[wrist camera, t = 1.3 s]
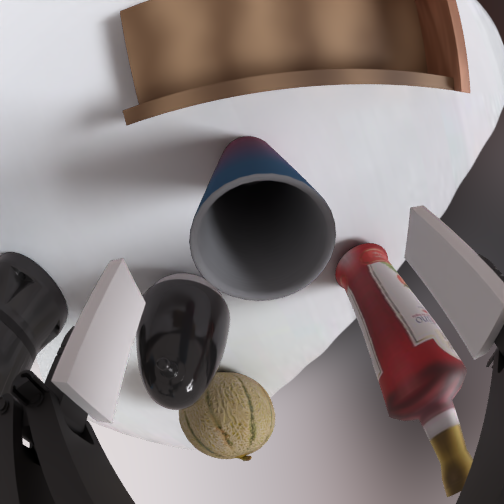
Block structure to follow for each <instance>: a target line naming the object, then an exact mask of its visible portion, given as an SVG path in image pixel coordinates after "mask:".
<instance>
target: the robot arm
mask: <svg viewBox="0 0 504 504" xmlns="http://www.w3.org/2000/svg"><path fill="white" fill-rule="evenodd" d="M404 258H405V259H406V260H407V261H408V263H409V264H410V265H411V267H412V268H413V269H414V270H415V272H416V273H417V274H418V276H419V277H420V278H421V280H422V281H423V282H424V284H425V285H426V286H427V288H428V289H429V291H430V292H431V293H432V295H433V296H434V298H435V299H436V300H437V302H438V303H439V305H440V306H441V308H442V309H443V311H444V312H445V314H446V315H447V317H448V318H449V319H450V321H451V323H452V324H453V326H454V327H455V329H456V330H457V332H458V334H459V335H460V337H461V338H462V340H463V341H464V343H465V345H466V347H467V348H468V350H469V352H470V353H471V355H472V357H473V359H474V360H475V359H476V358H479V357H480V356H482V355H484V354H486V353H488V351H489V350H490V348H491V346H492V345H493V343H495V344H496V346H497V349H496V351H495V352H494V353H493V355H492V357H491V358H490V359H489V361H488V363H487V366H486V367H489V365H490V364H491V363H492V361H493V360H494V364H493V366H492V368H493V372H492V380H491V387H490V393H489V399H488V404H487V409H486V414H485V419H484V423H483V427H482V431H481V435H480V439H479V442H478V446H477V449H476V452H475V456H474V459H473V462H472V465H471V468H470V470H469V473H468V476H467V479H466V481H465V484H464V486H463V489H462V491H461V493H460V496H459V498H458V500H457V503H456V504H504V276H503V275H502V273H501V272H500V271H499V270H497V268H496V267H495V266H494V265H493V264H492V263H491V262H490V261H489V260H488V259H486V258H485V257H483V256H482V255H480V254H478V255H477V254H476V253H475V252H474V251H473V250H472V249H471V248H470V247H469V246H468V245H467V244H466V243H465V242H464V241H463V240H462V239H461V238H460V237H459V236H458V235H457V234H456V233H454V232H453V231H452V230H451V229H450V228H449V227H448V226H447V225H446V224H444V223H443V222H442V221H441V220H440V219H439V218H438V217H436V216H435V215H434V214H433V213H432V212H430V211H429V210H428V209H427V208H426V207H424V206H417V207H410V217H409V227H408V235H407V243H406V250H405V257H404ZM145 304H146V303H145V301H144V299H143V297H142V295H141V293H140V291H139V289H138V287H137V285H136V283H135V281H134V279H133V277H132V275H131V273H130V271H129V269H128V267H127V265H126V263H125V260H124V258H121V259H116V260H112V261H110V262H109V263H108V265H107V267H106V268H105V270H104V272H103V274H102V275H101V277H100V279H99V281H98V283H97V284H96V286H95V288H94V290H93V292H92V294H91V295H90V297H89V299H88V301H87V303H86V305H85V307H84V309H83V311H82V313H81V315H80V317H79V319H78V321H77V323H76V325H75V326H73V327H72V328H71V329H70V331H69V332H68V333H67V334H66V335H65V337H64V340H63V342H62V344H61V348H59V350H58V353H57V356H56V357H55V359H54V362H53V364H52V366H51V369H50V371H49V374H48V376H47V378H46V381H45V383H43V382H42V381H41V380H40V379H39V378H38V377H37V376H36V375H35V374H34V373H33V372H32V371H30V369H31V367H32V364H33V362H34V360H35V358H36V356H37V354H38V353H39V352H40V351H41V350H42V349H43V348H44V347H45V346H46V345H47V344H48V343H49V342H51V341H52V340H53V339H54V338H55V337H56V336H57V335H58V334H59V333H60V332H61V330H62V328H63V326H64V324H65V322H66V320H67V315H68V311H67V306H66V302H65V299H64V297H63V295H62V293H61V291H60V289H59V288H58V286H57V285H56V283H55V282H54V281H53V279H52V278H51V277H50V276H49V275H48V274H47V273H46V272H45V271H44V270H43V269H42V268H41V267H40V266H39V265H38V264H36V263H35V262H34V261H32V260H31V259H29V258H27V257H25V256H23V255H21V254H18V253H11V252H10V253H5V254H3V255H1V256H0V504H135V503H134V501H133V500H132V498H131V497H130V495H129V494H128V492H127V491H126V489H125V487H124V486H123V484H122V483H121V481H120V479H119V478H118V476H117V474H116V473H115V471H114V469H113V467H112V466H111V464H110V462H109V460H108V459H107V457H106V455H105V453H104V451H103V449H102V447H101V445H100V443H99V441H98V439H97V437H96V435H95V433H94V431H93V429H92V427H91V425H90V423H89V422H88V421H87V416H88V415H90V416H91V417H92V418H93V419H95V420H96V421H99V422H106V423H113V420H114V415H115V411H116V407H117V402H118V398H119V394H120V390H121V386H122V382H123V378H124V374H125V370H126V367H127V363H128V359H129V356H130V352H131V349H132V345H133V342H134V339H135V335H136V332H137V329H138V326H139V322H140V319H141V316H142V313H143V310H144V307H145ZM22 438H24V439H25V440H27V441H28V442H30V447H29V448H28V447H26V446H24V445H23V442H22Z"/></svg>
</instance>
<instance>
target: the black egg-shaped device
mask: <svg viewBox="0 0 504 504" xmlns="http://www.w3.org/2000/svg"><path fill="white" fill-rule="evenodd" d="M143 299H144V301H145V303H146V304H145V307H144V310H143V313H142V316H141V319H140V322H139V326H138V329H137V332H136V346H137V359H138V366H139V371H140V375H141V378H142V381H143V384H144V386H145V388H146V390H147V392H148V394H149V395H150V397H151V398H152V399H153V400H154V401H155V402H156V403H157V404H159V405H161V406H163V407H165V408H168V409H172V410H182V409H186V408H189V407H191V406H193V405H195V404H196V403H197V402H198V401H199V400H200V399H201V398H202V397H203V396H204V394H205V393H206V392H207V390H208V389H209V387H210V385H211V383H212V382H213V380H214V378H215V375H216V373H217V370H218V368H219V365H220V362H221V359H222V357H223V353H224V350H225V346H226V342H227V337H228V332H229V325H230V313H229V309H228V306H227V304H226V302H225V301H224V299H223V297H222V296H221V294H220V292H219V291H218V290H217V288H215V287H214V286H212V285H211V284H210V283H209V282H208V281H207V280H206V279H204V278H202V277H199V276H197V275H193V274H187V273H179V274H173V275H169V276H167V277H164V278H162V279H161V280H159V281H158V282H157V283H155V284H154V285H153V286H152V287H150V288H149V289H148V290H147V291H146V292H145V294H144V295H143Z"/></svg>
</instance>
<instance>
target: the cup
mask: <svg viewBox="0 0 504 504" xmlns="http://www.w3.org/2000/svg"><path fill="white" fill-rule="evenodd" d="M335 238H336V230H335V222H334V218H333V215H332V212H331V210H330V208H329V206H328V205H327V203H326V201H325V200H324V199H323V198H322V196H321V195H320V194H319V193H318V192H317V191H316V190H315V189H314V188H313V187H312V186H311V185H310V184H309V183H308V182H307V181H306V180H305V179H304V178H303V177H302V176H301V175H300V174H299V173H298V172H297V171H296V170H295V169H294V168H293V167H292V166H290V165H289V164H288V163H287V162H286V161H285V160H284V159H283V158H282V157H281V156H280V155H279V154H278V153H277V152H276V151H275V150H274V149H272V148H271V147H270V146H269V145H268V144H267V143H266V142H265V141H263V140H261V139H259V138H256V137H251V136H246V137H241V138H238V139H236V140H234V141H232V142H231V143H230V144H229V145H228V146H227V147H226V149H225V150H224V152H223V154H222V156H221V158H220V160H219V162H218V165H217V167H216V169H215V171H214V173H213V175H212V178H211V180H210V182H209V184H208V187H207V189H206V191H205V193H204V196H203V198H202V200H201V202H200V205H199V207H198V209H197V212H196V214H195V216H194V219H193V223H192V226H191V229H190V241H189V243H190V250H191V255H192V258H193V260H194V263H195V265H196V267H197V269H198V270H199V272H200V273H201V274H202V276H203V277H204V278H205V279H206V280H207V281H208V282H209V283H210V284H211V285H212V286H214V287H215V288H217V289H218V290H220V291H221V292H223V293H226V294H228V295H230V296H233V297H236V298H240V299H244V300H254V301H264V300H273V299H278V298H282V297H285V296H288V295H291V294H293V293H295V292H297V291H299V290H301V289H302V288H304V287H306V286H307V285H308V284H310V283H311V282H312V281H313V280H315V279H316V278H317V277H318V275H319V274H320V273H321V272H322V271H323V270H324V268H325V266H326V265H327V263H328V262H329V260H330V258H331V255H332V252H333V249H334V245H335Z"/></svg>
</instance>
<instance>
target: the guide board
mask: <svg viewBox="0 0 504 504" xmlns="http://www.w3.org/2000/svg"><path fill="white" fill-rule="evenodd" d="M120 15H121V21H122V27H123V33H124V38H125V43H126V48H127V53H128V58H129V63H130V68H131V72H132V77H133V81H134V86H135V90H136V94H137V98H138V102H139V105H137V106H134V107H131V108H128V109H126V110H123V114H124V118H125V122H126V125H130V124H132V123H135V122H138V121H141V120H144V119H147V118H151V117H154V116H157V115H160V114H164V113H167V112H171V111H174V110H178V109H182V108H185V107H189V106H193V105H197V104H201V103H206V102H210V101H215V100H219V99H224V98H229V97H234V96H240V95H245V94H251V93H258V92H264V91H271V90H279V89H287V88H297V87H308V86H321V85H341V84H389V85H408V86H420V87H431V88H439V89H447V90H454V91H460V92H465V93H470V81H469V70H468V61H467V54H466V47H465V41H464V35H463V30H462V25H461V20H460V16H459V12H458V8H457V4H456V0H149V1H146V2H143V3H140V4H138V5H135V6H132V7H130V8H127V9H125V10H122V11H120Z"/></svg>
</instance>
